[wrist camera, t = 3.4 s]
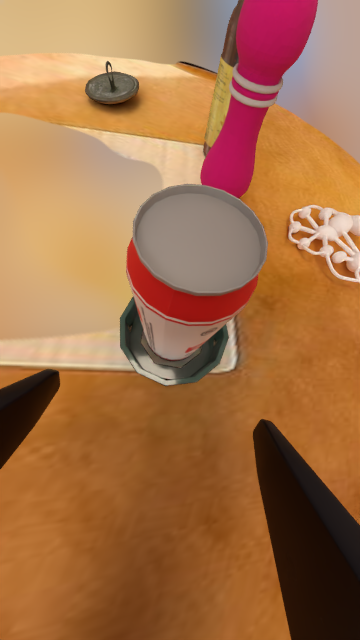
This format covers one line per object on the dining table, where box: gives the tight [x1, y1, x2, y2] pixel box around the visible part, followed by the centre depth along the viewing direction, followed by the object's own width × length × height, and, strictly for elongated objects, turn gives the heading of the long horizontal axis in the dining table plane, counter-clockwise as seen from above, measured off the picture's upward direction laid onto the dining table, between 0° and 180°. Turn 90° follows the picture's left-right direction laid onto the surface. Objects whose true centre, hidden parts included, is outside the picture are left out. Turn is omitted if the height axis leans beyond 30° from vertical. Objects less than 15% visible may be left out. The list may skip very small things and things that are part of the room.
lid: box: [85, 61, 139, 104], centre depth 35 cm, size 11×10×5 cm
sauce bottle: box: [204, 0, 244, 156], centre depth 25 cm, size 6×6×20 cm
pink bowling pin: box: [201, 0, 318, 199], centre depth 20 cm, size 7×7×20 cm
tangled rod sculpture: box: [288, 205, 360, 283], centre depth 28 cm, size 19×14×4 cm
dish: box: [120, 297, 229, 386], centre depth 20 cm, size 11×11×4 cm
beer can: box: [126, 184, 268, 361], centre depth 14 cm, size 6×6×16 cm
